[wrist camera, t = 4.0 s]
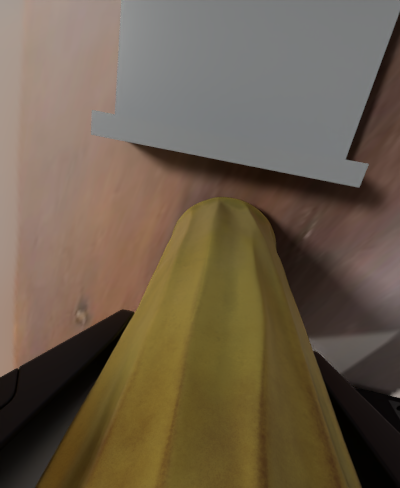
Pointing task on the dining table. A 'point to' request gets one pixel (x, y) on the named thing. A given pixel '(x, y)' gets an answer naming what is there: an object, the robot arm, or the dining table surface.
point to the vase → (209, 375)
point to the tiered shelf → (250, 80)
